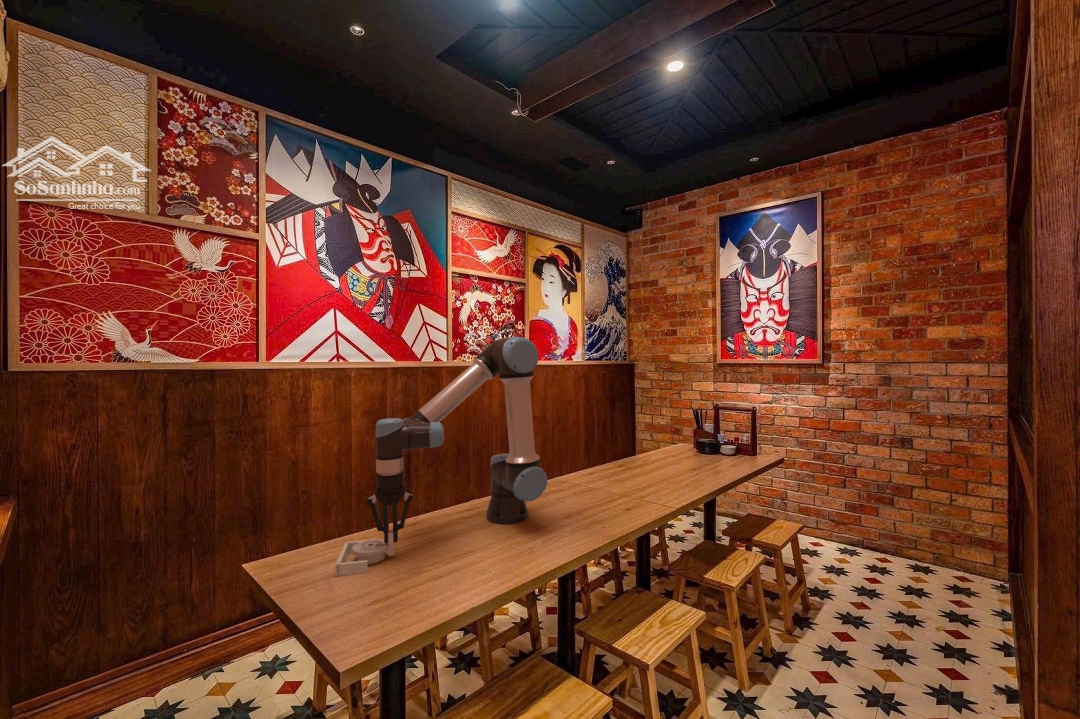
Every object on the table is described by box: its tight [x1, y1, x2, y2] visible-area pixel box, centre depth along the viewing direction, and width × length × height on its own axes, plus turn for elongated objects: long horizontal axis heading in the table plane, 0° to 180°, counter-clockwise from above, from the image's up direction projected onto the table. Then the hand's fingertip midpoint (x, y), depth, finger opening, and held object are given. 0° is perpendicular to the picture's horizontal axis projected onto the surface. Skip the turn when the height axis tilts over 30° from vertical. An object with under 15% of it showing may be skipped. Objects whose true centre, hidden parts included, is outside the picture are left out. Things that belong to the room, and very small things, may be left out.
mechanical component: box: [351, 538, 388, 566], centre depth 132 cm, size 10×4×10 cm
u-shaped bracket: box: [334, 539, 369, 577], centre depth 131 cm, size 8×16×3 cm, turn 14°
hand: (391, 553), depth 133 cm, fingers closed
